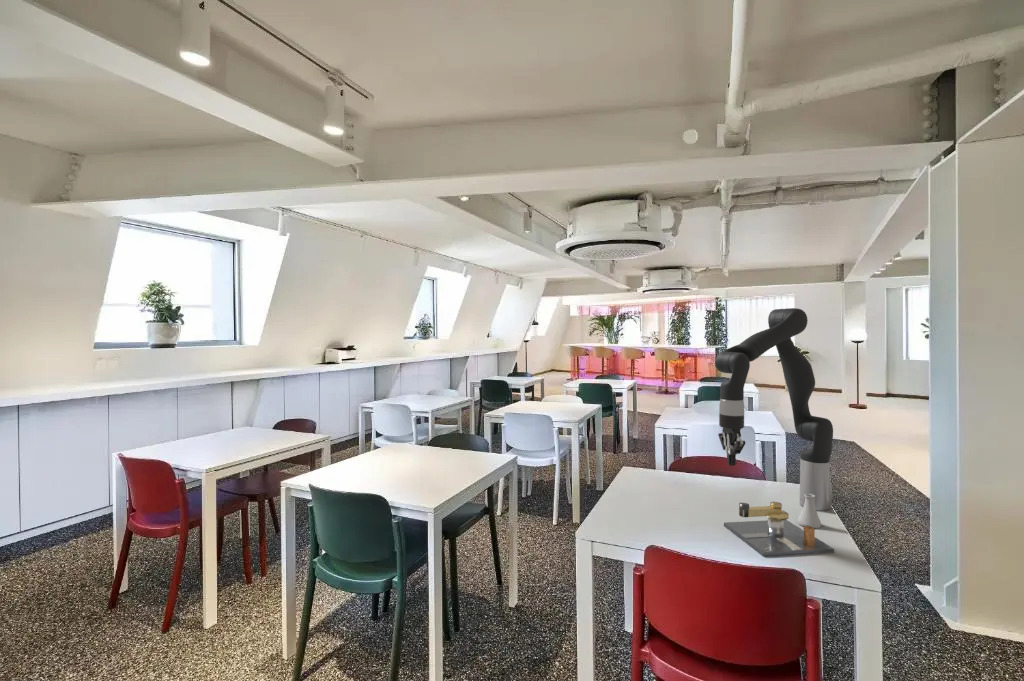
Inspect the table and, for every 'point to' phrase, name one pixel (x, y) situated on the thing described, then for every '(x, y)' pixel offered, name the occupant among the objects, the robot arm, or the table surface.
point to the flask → (809, 513)
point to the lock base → (778, 538)
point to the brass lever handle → (763, 511)
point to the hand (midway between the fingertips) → (731, 465)
